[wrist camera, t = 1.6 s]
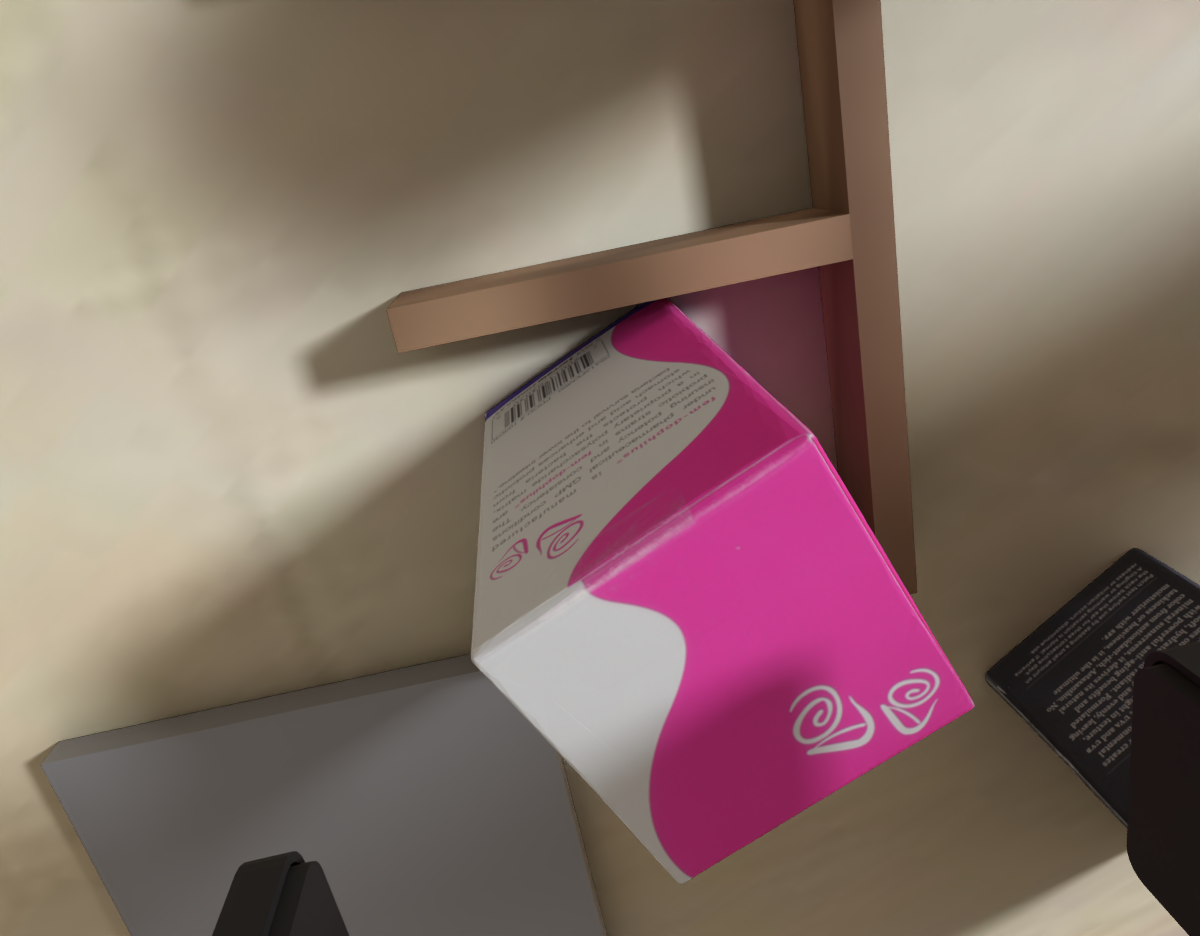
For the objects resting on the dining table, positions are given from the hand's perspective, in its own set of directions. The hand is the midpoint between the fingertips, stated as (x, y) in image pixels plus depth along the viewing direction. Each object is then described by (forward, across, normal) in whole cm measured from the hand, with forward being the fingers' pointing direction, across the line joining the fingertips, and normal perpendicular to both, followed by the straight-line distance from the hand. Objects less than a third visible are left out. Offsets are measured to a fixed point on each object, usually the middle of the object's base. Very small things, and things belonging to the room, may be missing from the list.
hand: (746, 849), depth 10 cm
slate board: (+15, +10, +12) cm, 22 cm away
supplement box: (+14, -1, 0) cm, 15 cm away
